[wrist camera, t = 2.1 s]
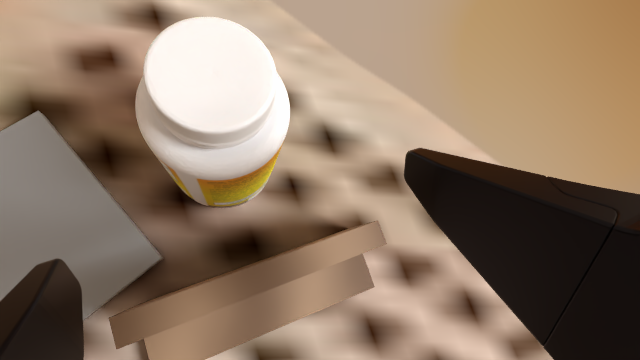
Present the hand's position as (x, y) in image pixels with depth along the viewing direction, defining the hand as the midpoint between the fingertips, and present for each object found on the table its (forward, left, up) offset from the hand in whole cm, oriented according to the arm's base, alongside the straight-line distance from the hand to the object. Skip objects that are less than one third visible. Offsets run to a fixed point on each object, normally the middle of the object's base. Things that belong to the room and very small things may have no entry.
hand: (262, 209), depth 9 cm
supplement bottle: (+3, +3, -11) cm, 12 cm away
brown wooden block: (-2, -2, -11) cm, 12 cm away
